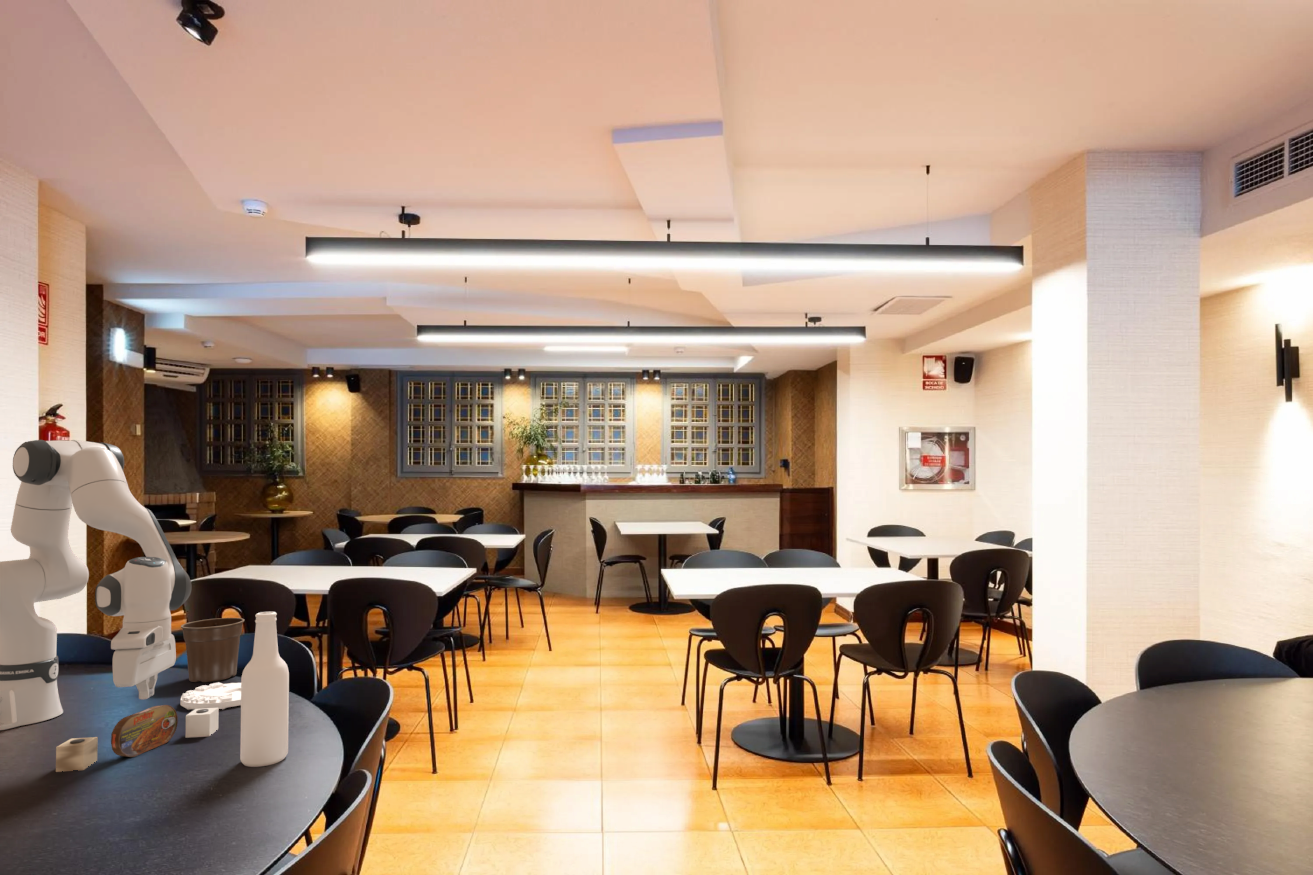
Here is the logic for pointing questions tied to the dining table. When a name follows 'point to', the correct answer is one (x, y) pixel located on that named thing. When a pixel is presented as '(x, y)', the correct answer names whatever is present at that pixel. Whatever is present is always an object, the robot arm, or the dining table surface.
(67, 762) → the birch block
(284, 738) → the white bottle
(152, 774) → the dining table surface
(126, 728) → the tin
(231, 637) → the plant pot
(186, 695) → the white round plaque
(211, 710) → the white block
